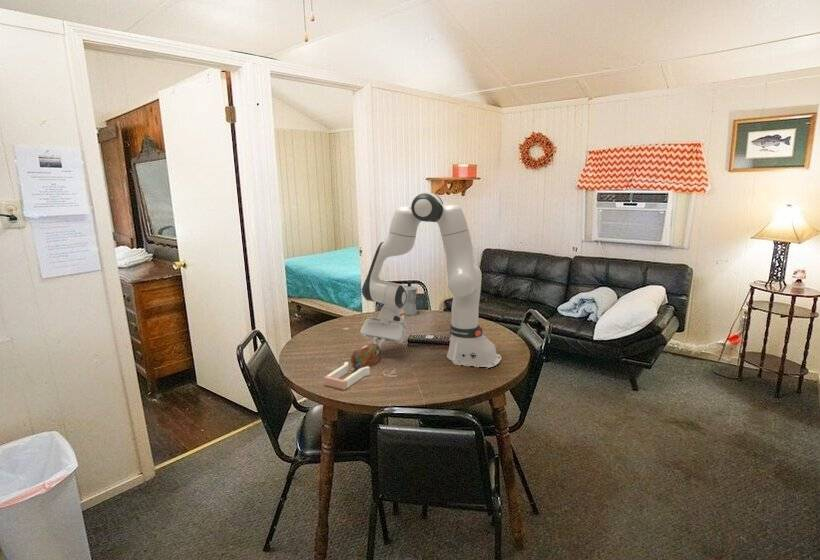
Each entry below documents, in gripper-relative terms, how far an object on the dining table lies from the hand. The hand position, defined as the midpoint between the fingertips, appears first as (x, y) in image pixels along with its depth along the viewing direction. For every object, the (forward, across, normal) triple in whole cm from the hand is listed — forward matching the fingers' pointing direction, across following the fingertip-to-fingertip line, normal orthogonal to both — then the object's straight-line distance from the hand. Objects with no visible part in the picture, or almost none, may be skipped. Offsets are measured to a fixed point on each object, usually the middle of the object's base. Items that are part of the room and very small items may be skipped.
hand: (376, 348), depth 182 cm
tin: (+9, 0, -3) cm, 10 cm away
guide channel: (+19, 0, -13) cm, 23 cm away
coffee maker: (-41, -18, +48) cm, 65 cm away
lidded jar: (-25, -14, +31) cm, 42 cm away
